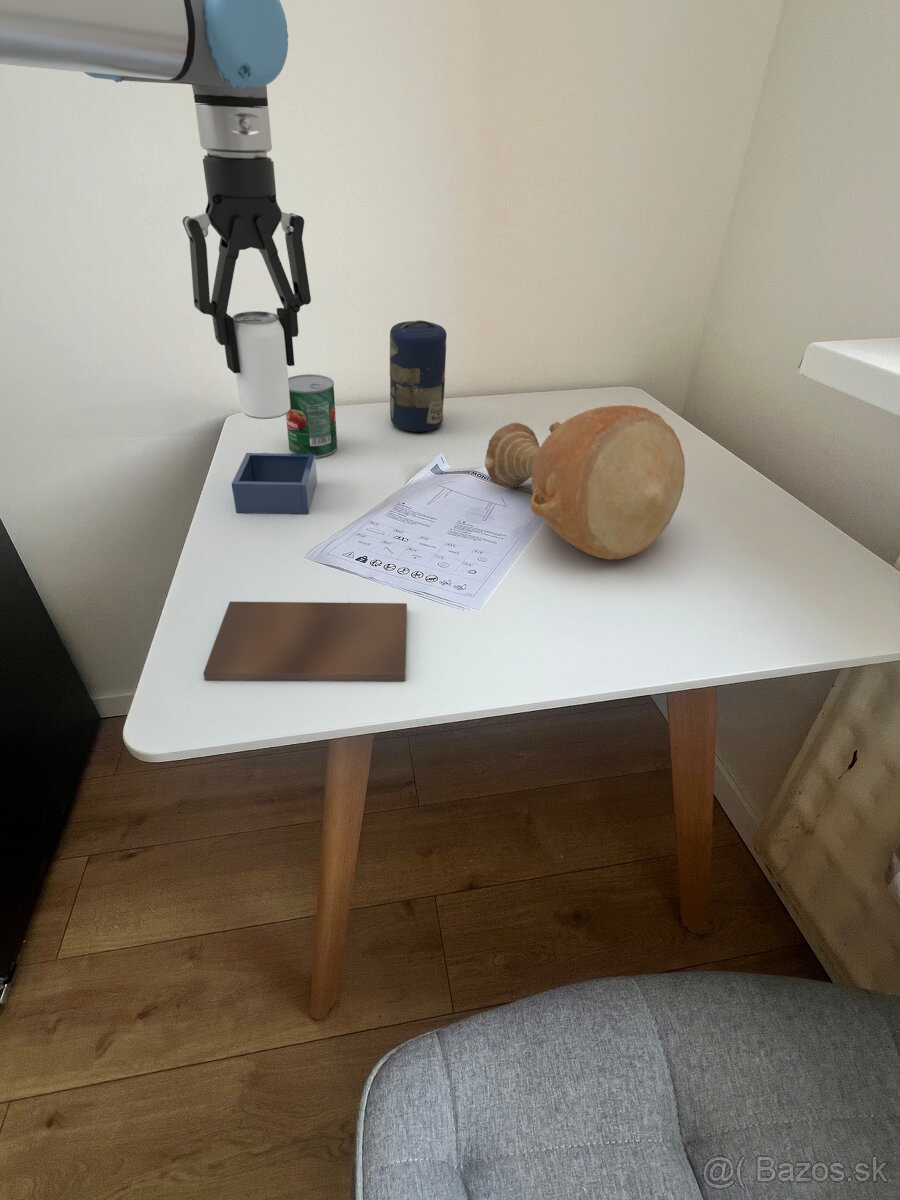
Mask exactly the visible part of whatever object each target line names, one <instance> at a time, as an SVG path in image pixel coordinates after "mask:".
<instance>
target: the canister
mask: <svg viewBox="0 0 900 1200" xmlns="http://www.w3.org/2000/svg"><path fill="white" fill-rule="evenodd" d="M447 337H448V335H447V330H446V329H445V328H444V327H443V326H442V325H440V324H438V323H434V322H431V321H427V320H422V319H419V320H409V321H402V322H398V323H396V324H394V325H393V326H392V327H391V328H390V331H389V379H390V380H389V392H390V393H389V405H390V406H389V417H390V421H391V423H392V424H393V425H394V426H395V427H397V428H399V429H401V430H404V431H409V432H420V433H421V432H422V433H423V432H428V431H433V430H435V429H438V428H439V427H440V426H441V425H442V423H443V421H444V403H445V385H446V361H447V360H446V359H447V358H446V357H447Z"/></svg>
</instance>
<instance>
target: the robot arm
mask: <svg viewBox="0 0 900 1200" xmlns="http://www.w3.org/2000/svg"><path fill="white" fill-rule="evenodd" d="M288 39H289V33H288V23H287V18H286V14H285V10H284V7H283V5H282V3H281V1H280V0H0V65H7V66H17V67H27V68H28V67H29V68H37V69H48V70H58V71H69V72H80V73H83V74H85V75H87V76H89V77H91V78H94V79H100V80H101V79H102V80H110V81H114V82H115V83H122V82H138V83H139V82H140V83H155V84H156V83H157V84H181V85H190V86H191V88H192V94H193V100H194V106H195V113H196V114H195V115H196V123H197V129H198V136H199V137H198V138H199V145H200V147H201V149H203V150H205V151H206V152H207V154H206V155H203V158H202V166H203V173H204V181H205V189H206V195H207V204H206V207H205V210H204V211H205V212H204V213H200V214H197V215H195V216H192V217H191V216H189V215H185V216H184V217H183V218H182V225H183V227H184V230H185V232H186V235H187V237H188V241H189V253H190V265H191V279H192V282H191V283H192V290H193V291H192V294H193V295H192V296H193V306H194V307H195V309H197V310H198V311H199V312H200V313H201V314H204V315H209V316H211V318H212V325H213V331H214V337H215V340H216V342H217V343H218V344H219V345H220V346H224V353H225V359H226V366H227V369H229V370H230V371H231V372H232V373H233V374H236V373H240V366H239V359H238V351H237V343H236V336H235V328H234V320H233V318H232V317H233V316H231V315H230V314H229V313H227V312H228V307H229V302H230V297H231V291H232V286H233V285H232V284H233V279H234V274H235V268H236V263H237V260H238V258H239V255H240V251H245V250H248V249H250V248H251V249H256V250H258V252H259V253H260V254H261V257H262V259H263V261H264V264H265V267H266V268H267V271H268V273H269V276H270V278H271V280H272V283H273V286H274V287H275V290H276V293H277V296H278V298H279V301H280V302H281V305H282V307H277V308H276V314H277V315H278V316H279V322H280V324H281V325H282V327H283V330H284V338H285V349H286V360H287V367H291V366H292V367H293V366H294V367H295V365H296V364H295V355H294V343H293V338H298V336H299V321H298V313H299V312H300V310H301V307H303V306H305V305H306V306H307V305H309V304H310V303H311V301H312V297H311V290H310V284H309V276H308V270H307V269H308V268H307V263H306V256H305V250H304V249H305V248H304V242H303V234H304V228H305V218H304V217H303V216H301V215H298V214H296V213H293V212H290V213H288V212H284V211H282V210H281V207H280V205H279V204H278V201H277V187H276V175H275V164H274V163H275V162H274V160H272V158H271V157H269V156H268V153H270V152H271V150H273V144H272V131H271V121H270V110H269V109H270V108H269V101H268V87H267V86H268V85H270V84H271V83H273V82H274V81H275V80H276V79H277V78H278V77H279V75H281V72H282V70H283V69H284V66H285V65H286V61H287V57H288V50H289V40H288ZM279 224H281V229H282V232H284V237H285V246H286V250H287V251H286V252H287V258H288V263H289V270H290V276H291V283H292V287H291V284H290V282H289V279H288V277H287V273H286V271H285V269H284V266H283V264H282V262H281V259H280V256H279V251H278V248H277V245H276V243H275V240H274V238H273V237H274V234H275V232H276V230H277V228H278V227H279ZM210 225H211V227H212V228H213V229H214V230H215V231H216V233H217V234H218V235H219V236H220V239H219V245H218V252H219V253H218V259H217V265H216V270H215V275H214V276H215V277H214V282H213V287H212V294H211V296H210V281H209V279H210V278H209V265H208V264H209V263H208V248H207V242H206V238H207V237H208V235H209V226H210ZM292 288H293V290H292Z"/></svg>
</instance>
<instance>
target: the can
mask: <svg viewBox="0 0 900 1200" xmlns="http://www.w3.org/2000/svg"><path fill="white" fill-rule="evenodd" d="M231 317H232V318H233V320H234V328H235V336H236V343H237V351H238V359H239V366H240V373H235V375H236V376H235V377H236V384H237V391H238V398H239V405H240V410H241V412H242V413H243V414H244V415H245V416H247V417H249V418H252V419H257V420H270V419H277V418H280V417H283V416H286V414H287V413H288V411H289V410H290V395H289V383H288V378H289V371H288V365H287V360H286V349H285V338H284V330H283V327H282V325H281V324H280V322H279V316H278V315H277V313H275V312H269V311H261V310H260V311H259V310H257V311H256V310H253V311H242V312H239V313H236V314H234V315H233V316H231Z"/></svg>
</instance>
